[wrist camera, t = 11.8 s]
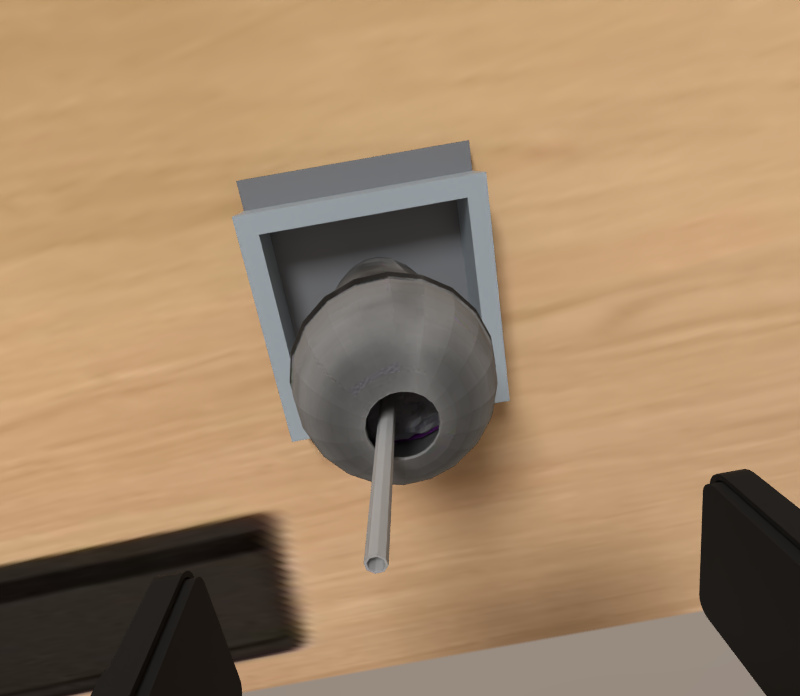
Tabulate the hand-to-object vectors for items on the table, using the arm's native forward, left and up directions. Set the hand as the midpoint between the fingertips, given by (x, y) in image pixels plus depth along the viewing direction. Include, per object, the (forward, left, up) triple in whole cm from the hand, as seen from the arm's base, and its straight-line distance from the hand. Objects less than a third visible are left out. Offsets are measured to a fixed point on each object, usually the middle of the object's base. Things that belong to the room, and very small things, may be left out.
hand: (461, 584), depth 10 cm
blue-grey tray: (0, 0, -22) cm, 22 cm away
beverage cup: (0, 0, -21) cm, 21 cm away
